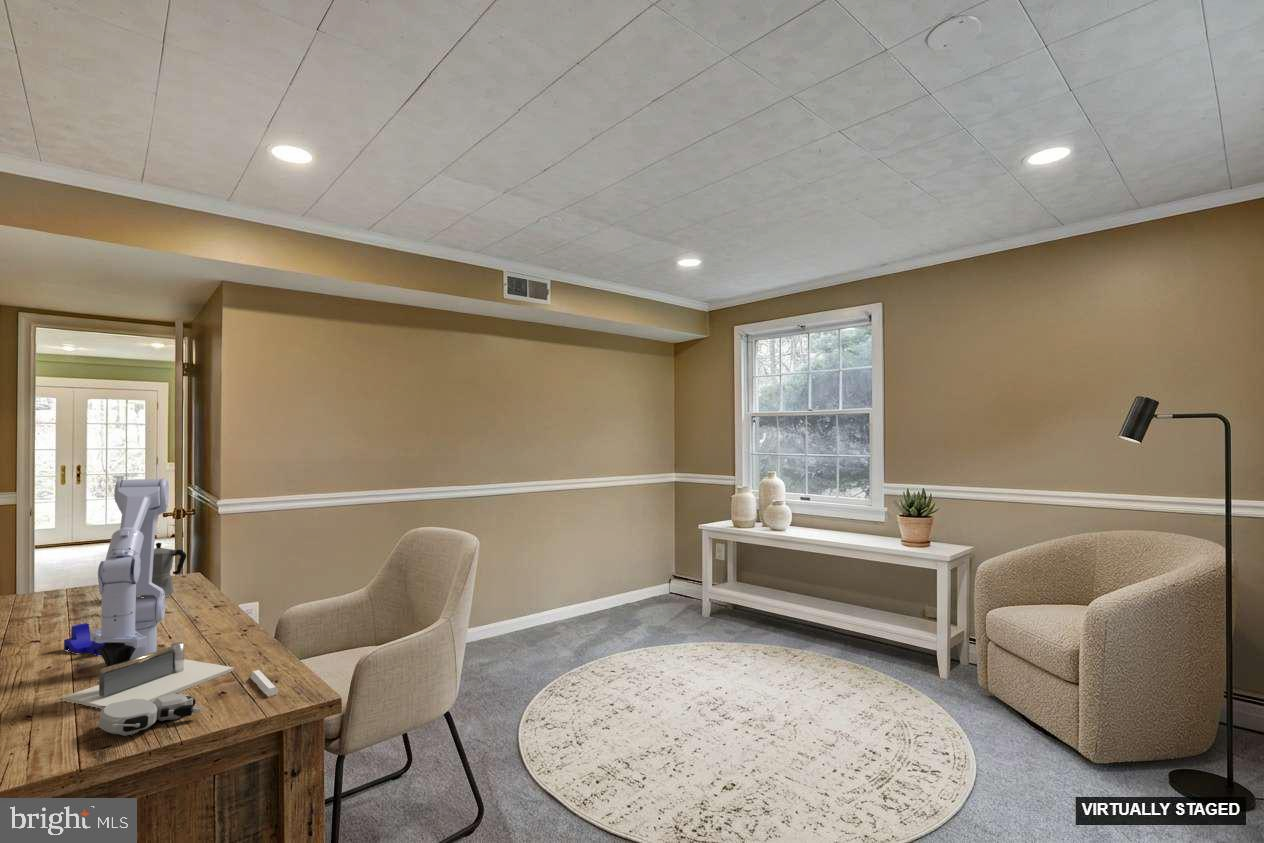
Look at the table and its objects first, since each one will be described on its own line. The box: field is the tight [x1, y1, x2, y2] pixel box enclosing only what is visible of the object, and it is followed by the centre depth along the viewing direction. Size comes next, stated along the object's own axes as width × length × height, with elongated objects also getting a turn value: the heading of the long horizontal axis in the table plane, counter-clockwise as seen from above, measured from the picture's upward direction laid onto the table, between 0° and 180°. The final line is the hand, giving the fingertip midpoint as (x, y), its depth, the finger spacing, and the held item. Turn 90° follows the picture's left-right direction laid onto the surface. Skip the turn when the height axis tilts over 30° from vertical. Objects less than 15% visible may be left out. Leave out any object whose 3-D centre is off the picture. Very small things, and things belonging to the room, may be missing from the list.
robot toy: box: [96, 692, 203, 737], centre depth 121 cm, size 12×4×15 cm
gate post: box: [170, 641, 185, 673], centre depth 145 cm, size 2×2×7 cm
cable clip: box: [63, 622, 105, 656], centre depth 160 cm, size 12×4×6 cm, turn 66°
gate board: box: [61, 658, 235, 710], centre depth 139 cm, size 18×24×1 cm
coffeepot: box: [140, 542, 187, 598], centre depth 213 cm, size 15×9×18 cm, turn 95°
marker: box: [249, 669, 279, 697], centre depth 140 cm, size 3×2×16 cm
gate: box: [98, 646, 173, 696], centre depth 137 cm, size 2×14×6 cm, turn 161°
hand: (117, 677), depth 136 cm, fingers closed
